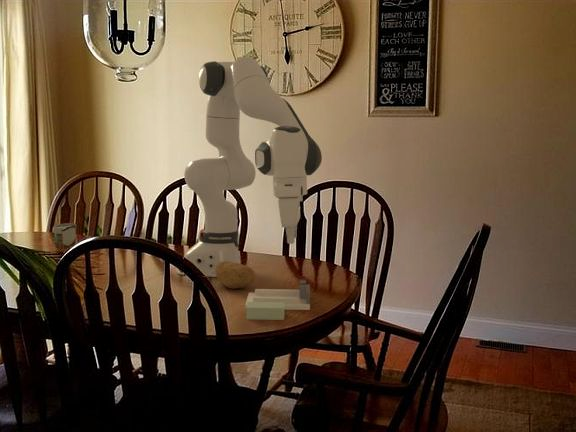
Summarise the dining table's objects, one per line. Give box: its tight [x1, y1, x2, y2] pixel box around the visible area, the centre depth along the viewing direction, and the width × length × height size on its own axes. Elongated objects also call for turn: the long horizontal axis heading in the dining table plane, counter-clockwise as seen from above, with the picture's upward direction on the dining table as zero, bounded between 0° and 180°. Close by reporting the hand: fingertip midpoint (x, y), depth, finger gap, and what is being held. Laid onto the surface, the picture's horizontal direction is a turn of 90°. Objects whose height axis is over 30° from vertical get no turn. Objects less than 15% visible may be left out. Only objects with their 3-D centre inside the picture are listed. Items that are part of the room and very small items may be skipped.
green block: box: [245, 302, 285, 321], centre depth 164 cm, size 10×5×4 cm, turn 89°
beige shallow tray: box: [245, 279, 311, 311], centre depth 175 cm, size 18×12×6 cm, turn 89°
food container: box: [52, 222, 77, 249], centre depth 239 cm, size 12×6×10 cm, turn 172°
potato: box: [215, 261, 256, 289], centre depth 190 cm, size 10×14×8 cm
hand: (292, 240), depth 161 cm, fingers open, 8 cm apart
